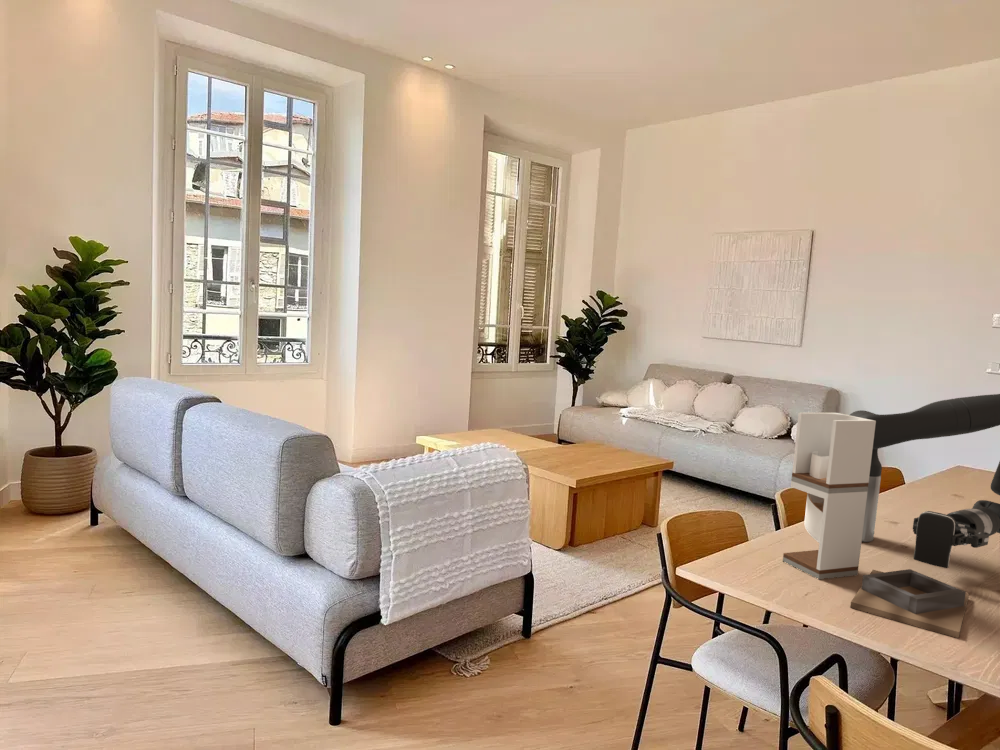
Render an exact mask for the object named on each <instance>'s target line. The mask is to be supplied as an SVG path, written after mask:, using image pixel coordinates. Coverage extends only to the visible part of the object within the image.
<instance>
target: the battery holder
mask: <svg viewBox="0 0 1000 750" xmlns="http://www.w3.org/2000/svg"><path fill="white" fill-rule="evenodd" d="M969 595H970V594H969V592H967V591H965V590H962V589H960V588H958V587H955V586H953V585H951V584H948V583H945V582H942V581H941V580H938V579H936V578H933V577H931V576H929V575H926V574H923V573H921V572H918V571H916V570H913V569H911V568H909V569H901V570H900V569H899V570H894V571H893V570H892V571H887V572H884V571H880V570H876V569H871V571H870V573H868V574H863V575H862V583H861V586H860V588H859V589H858V591H857V593H855V596H853V598H852V599H851V601H850V606H849V607H851V608H850V609H853V608H854V610H856V611H860V610H861V611H860V612H864V613H867V612H868V613H869V614H871V615H876V616H877V617H882V618H886V619H889V620H893V621H896V622H899V623H903V624H907V625H909V626H914V627H918V628H921V629H924V630H927V631H932V632H935V633H938V634H940V635H941V634H942V635H945V636H948V637H953V638H955V639H959V637H960V634H961V630H962V624H963V621H964V618H965V617H964V616H965V613H966V609H967V605H968V600H969Z"/></svg>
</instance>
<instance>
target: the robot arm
mask: <svg viewBox="0 0 1000 750" xmlns="http://www.w3.org/2000/svg"><path fill="white" fill-rule="evenodd" d="M849 415H850V416H855V417H860V418H865V419H870V420H874V421H876V424H875V433H874V441H873V450H872V458H871V466H870V475H869V483H868V492H867V500H866V508H865V517H864V525H863V534H862V542H864V543H866V542H873V540H874V536H875V529H876V521H877V510H878V506H879V505H878V503H879V495H880V487H881V480H882V470H883V467H882V463H881V461H880V459H879V453H878V451H879V450H878V449H882V448H887V447H890V446H894V445H898V444H901V443H906V442H910V441H917V440H928V439H938V438H946V437H953V436H960V435H966V434H971V433H977V432H980V431H985V430H988V429H990V428H991V429H992V428H994V427H998V426H1000V393H993V394H982V395H973V396H965V397H962V396H961V397H956V398H949V399H948V398H947V399H942V400H938V401H937V400H936V401H933V402H931V403H928V404H926V405H923V406H921V407H919V408H915V409H913V410H910V411H907V412H900V413H891V414H890V413H889V414H877V413H874V412H871V411H868V410H855V411H853V412H852V413H850V414H849ZM991 480H992V481H991V482H990V490H991V491H992V492H993V493H994V494H995V495H998V496H1000V461H999V463H998V465H997V467H996V470H995V473H994V476H993V478H992V479H991ZM946 515H949V516H952V517H953V518H954V519H955V521H956V529H955V535H953V536H952V539H951V545H952V547H958V546H968V545H970V548H971V547H972V548H975V549H977V548H981V547H985V546H988V544H989V539H990V537H991V536H992V535H995V534H1000V503H999V502H995V501H991V500H987V499H986V500H984V499H983V500H982V499H981V500H977V501H975V503H974V504H973V506H972V508H965V509H963V508H962V509H960V510H956V511H952V512H949V513H947V514H946ZM918 519H919V516H918V517H915V518H913V521H912V522H913V523H912V532H913V534H914V535H916V532H917V524H918Z"/></svg>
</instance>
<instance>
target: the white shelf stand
mask: <svg viewBox="0 0 1000 750" xmlns="http://www.w3.org/2000/svg"><path fill="white" fill-rule="evenodd" d="M797 414H798V415H797V424H796V433H795V442H794V443H795V444H794V452H793V462H792V471H791V480H790V488H792V489H796V490H799V491H802V492H804V493H807V495H806V504H805V515H804V521H803V523H804V528H805V530H806V531H807V533H808V534H809V535H810V537H811V538H812V539H813V540H815V541H816V542H817V543H818V549H813V550H802V551H790V552H783V554H782V555H783V556H782V562H783V561H784V562H786V563H788V564H790V565H792V566H794V567H796V568H798V569H800V570H802V571H804V572H806V573H808V574H810V575H812V576H811V577H813V576H814V577H813V578H815V577H816V578H815V579H817V578H818V579H817V580H825V579H824V578H828V579H835V578H834V577H837V578H844V576H845V577H852V576H853V575H854V576H858V574H859V567H860V566H859V564H860V559H861V558H860V557H861V550H862V542H863V541H862V534H863V525H864V517H865V508H866V500H867V492H868V483H869V475H870V466H871V458H872V450H873V441H874V433H875V424H876V421H874V420H870V419H865V418H860V417H855V416H850V414H846V413H845V414H844V413H840V412H798V413H797ZM784 562H783V563H784ZM786 563H785V564H786ZM788 564H787V565H788ZM790 565H789V566H790ZM792 566H791V567H792ZM794 567H793V568H794ZM796 568H795V569H796ZM798 569H797V570H798ZM800 570H799V571H800ZM802 571H801V572H802ZM804 572H803V573H804ZM806 573H805V574H806ZM808 574H807V575H808ZM810 575H809V576H810ZM854 576H853V577H854Z"/></svg>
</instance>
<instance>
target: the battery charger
mask: <svg viewBox="0 0 1000 750" xmlns="http://www.w3.org/2000/svg"><path fill="white" fill-rule="evenodd" d="M918 517H919V519H918V524H917V532H916V534H915V546H914V553H913V560H914V561H916V562H920V563H923V564H927V565H931V566H934V567H939V568H942V569H948V568H949V565H950V558H951V554H952V548H953V546H952V545H951V539H952V536H953V535H955V529H956V521H955V519H954V518H953V517H952V516H949V515H947V514H946V513H941V512H938V511H937V512H936V511H931V510H928V511H927V510H926V511H924V512H921V513H920V514H919V516H918Z"/></svg>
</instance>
